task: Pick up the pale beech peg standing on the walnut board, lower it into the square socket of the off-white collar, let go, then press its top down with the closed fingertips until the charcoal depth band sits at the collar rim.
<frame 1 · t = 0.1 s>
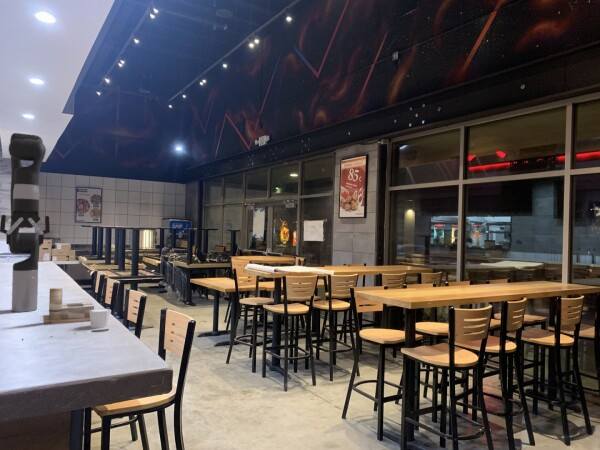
hand: (25, 245, 146), 29 cm above the table, fingers open, 8 cm apart
peg: (55, 322, 154), point 1 cm above the table, touching socket board
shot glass: (99, 330, 149), on the table
socket board: (69, 321, 161), on the table
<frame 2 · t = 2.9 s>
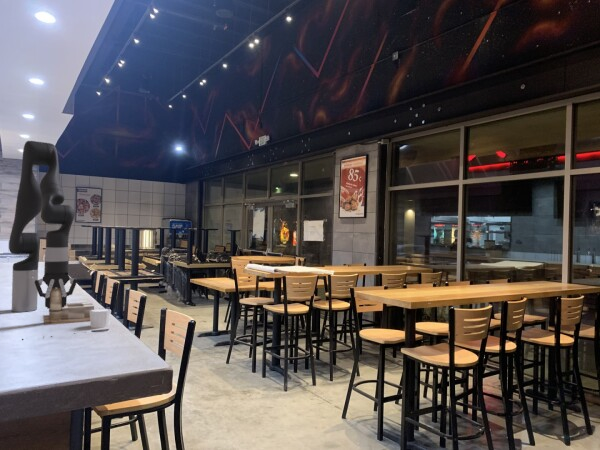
hand: (55, 307, 154), 7 cm above the table, fingers closed on peg, 4 cm apart
peg: (55, 322, 154), point 1 cm above the table, touching gripper, socket board
everything else where it was.
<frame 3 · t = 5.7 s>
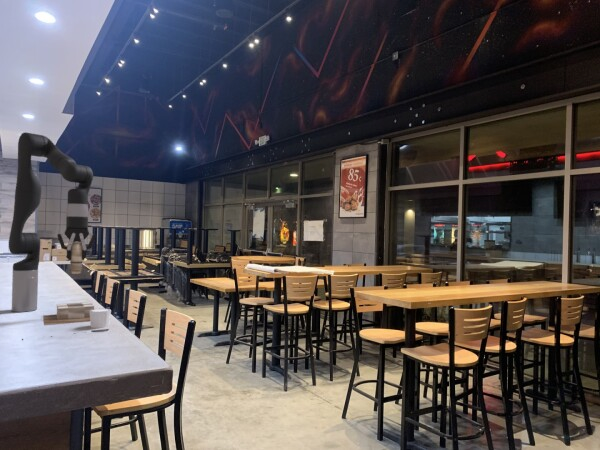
hand: (76, 259, 166), 23 cm above the table, fingers closed on peg, 4 cm apart
peg: (76, 273, 166), point 18 cm above the table, touching gripper
everything else where it was.
when the fingers open (7 cm above the table, at t = 8.7 s): peg stays where it is, resting on socket board.
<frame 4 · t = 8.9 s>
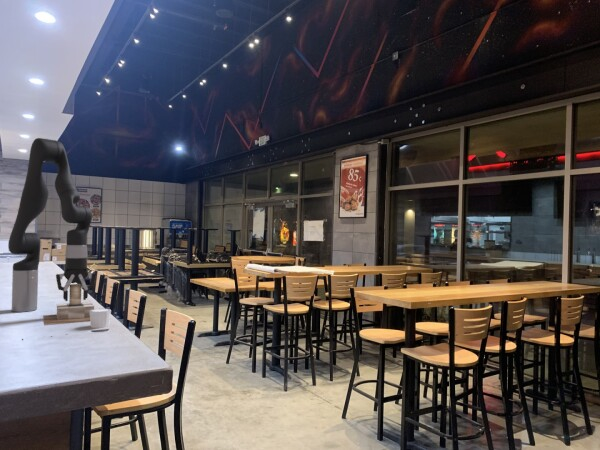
hand: (75, 300, 166), 8 cm above the table, fingers open, 5 cm apart
peg: (75, 315, 166), point 2 cm above the table, touching socket board
everything else where it was.
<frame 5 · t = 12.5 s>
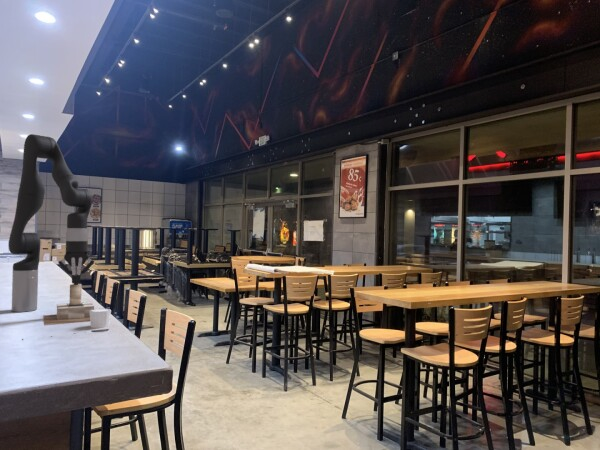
hand: (75, 284, 166), 13 cm above the table, fingers closed
peg: (75, 315, 166), point 1 cm above the table, touching gripper, socket board
everything else where it was.
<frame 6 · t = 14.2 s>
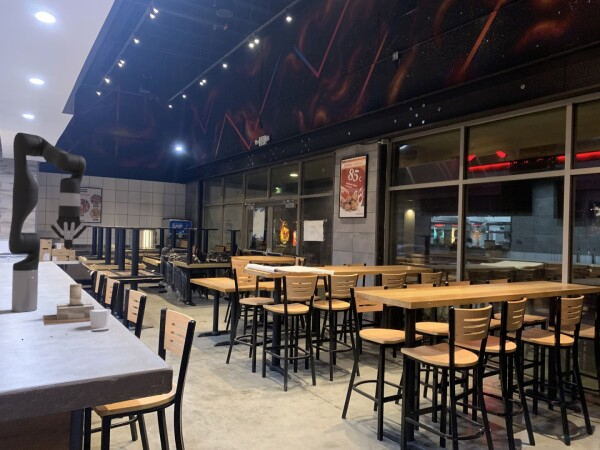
hand: (67, 249, 167), 27 cm above the table, fingers closed
peg: (75, 315, 166), point 1 cm above the table, touching socket board
everything else where it was.
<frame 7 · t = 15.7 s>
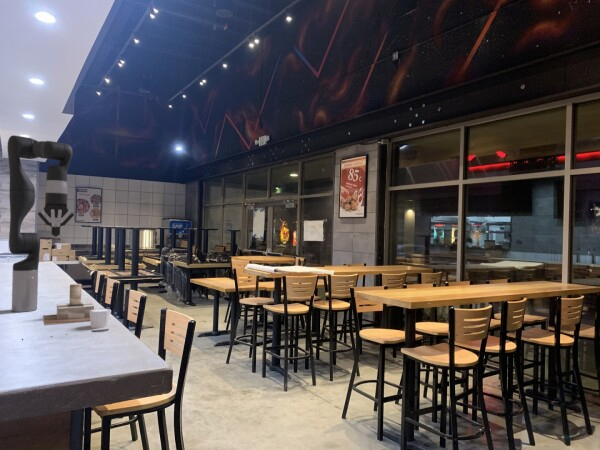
hand: (55, 236, 169), 32 cm above the table, fingers closed
nothing on the table moved.
at the end: peg 0.0 cm from the target spot on the socket board, point 1.5 cm above the socket board's base; peg tilted 0°; the gripper is holding nothing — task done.
